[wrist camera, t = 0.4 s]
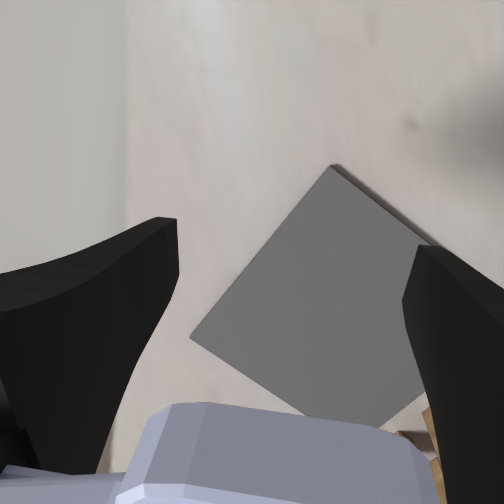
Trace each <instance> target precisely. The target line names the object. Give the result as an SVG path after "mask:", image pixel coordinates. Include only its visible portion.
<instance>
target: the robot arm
mask: <svg viewBox="0 0 504 504" xmlns="http://www.w3.org/2000/svg"><path fill="white" fill-rule="evenodd" d="M178 278H179V256H178V236H177V219H174V218H164V217H155V218H152V219H150V220H147V221H145V222H143V223H141V224H138V225H136V226H134V227H132V228H130V229H128V230H126V231H124V232H122V233H120V234H118V235H115V236H113V237H111V238H109V239H107V240H105V241H102V242H100V243H98V244H95V245H93V246H90V247H88V248H86V249H83V250H81V251H78V252H76V253H73V254H70V255H67V256H65V257H61V258H58V259H55V260H52V261H49V262H46V263H42V264H38V265H34V266H30V267H26V268H22V269H18V270H14V271H10V272H6V273H1V274H0V504H440V500H439V496H438V493H437V489H436V485H435V481H434V477H433V473H432V470H431V466H430V462H429V460H428V459H427V458H426V457H425V456H424V455H423V454H422V453H421V452H420V451H419V450H418V449H417V448H416V447H415V446H414V445H413V444H412V443H411V442H410V441H409V440H408V439H406V438H404V437H402V436H399V435H396V434H393V433H390V432H387V431H384V430H381V429H378V428H375V427H372V426H369V425H363V424H356V423H349V422H342V421H335V420H328V419H322V418H315V417H308V416H301V415H294V414H287V413H281V412H274V411H267V410H260V409H253V408H246V407H240V406H233V405H226V404H219V403H212V402H198V403H177V404H172V405H170V406H169V407H167V408H165V409H163V410H162V411H160V412H158V413H156V414H155V415H153V416H151V417H149V418H148V421H147V423H146V426H145V428H144V431H143V433H142V435H141V438H140V440H139V443H138V445H137V447H136V450H135V452H134V455H133V457H132V459H131V462H130V464H129V467H128V469H127V472H122V473H106V474H95V473H96V470H97V467H98V464H99V461H100V458H101V455H102V452H103V449H104V447H105V444H106V441H107V438H108V435H109V432H110V429H111V427H112V424H113V421H114V419H115V416H116V413H117V411H118V408H119V405H120V403H121V400H122V397H123V395H124V392H125V390H126V387H127V385H128V383H129V380H130V378H131V375H132V373H133V370H134V368H135V366H136V364H137V362H138V360H139V357H140V355H141V354H142V352H143V350H144V348H145V346H146V344H147V343H148V341H149V339H150V337H151V335H152V333H153V332H154V330H155V328H156V326H157V324H158V322H159V321H160V319H161V317H162V315H163V313H164V311H165V309H166V308H167V306H168V304H169V302H170V300H171V297H172V294H173V292H174V289H175V286H176V283H177V280H178ZM402 307H403V315H404V321H405V327H406V331H407V335H408V338H409V341H410V344H411V348H412V351H413V354H414V357H415V360H416V363H417V366H418V369H419V372H420V376H421V379H422V382H423V385H424V388H425V391H426V394H427V398H428V401H429V405H430V409H431V414H432V419H433V424H434V429H435V434H436V439H437V444H438V450H439V456H440V462H441V468H442V474H443V479H444V486H445V493H446V500H447V504H504V289H503V288H502V287H500V286H499V285H497V284H496V283H494V282H493V281H491V280H490V279H488V278H487V277H485V276H484V275H483V274H481V273H480V272H478V271H477V270H475V269H474V268H473V267H471V266H470V265H468V264H467V263H466V262H464V261H463V260H461V259H460V258H458V257H457V256H455V255H454V254H453V253H451V252H449V251H448V250H446V249H444V248H442V247H440V246H430V245H421V244H419V245H418V248H417V252H416V255H415V258H414V262H413V265H412V268H411V272H410V275H409V278H408V281H407V285H406V288H405V291H404V295H403V298H402Z"/></svg>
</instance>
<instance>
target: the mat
mask: <svg viewBox="0 0 504 504" xmlns="http://www.w3.org/2000/svg"><path fill="white" fill-rule="evenodd" d="M419 244H421V245H430V244H429V243H428V242H427V241H425V240H424V239H423V238H422V237H420V236H419V235H418V234H416V233H415V232H414V231H413V230H411V229H410V228H409V227H408V226H406V225H405V224H404V223H402V222H401V221H400V220H399V219H397V218H396V217H395V216H394V215H392V214H391V213H390V212H388V211H387V210H386V209H385V208H383V207H382V206H381V205H380V204H378V203H377V202H376V201H374V200H373V199H372V198H371V197H369V196H368V195H367V194H366V193H364V192H363V191H362V190H360V189H359V188H358V187H357V186H355V185H354V184H353V183H352V182H350V181H349V180H348V179H346V178H345V177H344V176H343V175H341V174H340V173H339V172H338V171H336V170H335V169H334V168H332V167H331V166H330V165H329V166H328V168H327V169H326V170H325V171H324V173H323V174H322V175H321V176H320V177H319V179H318V180H317V181H316V182H315V184H314V185H313V186H312V187H311V188H310V190H309V191H308V192H307V193H306V195H305V196H304V197H303V198H302V199H301V201H300V202H299V203H298V204H297V205H296V207H295V208H294V209H293V210H292V212H291V213H290V214H289V215H288V216H287V218H286V219H285V220H284V221H283V223H282V224H281V225H280V226H279V227H278V229H277V230H276V231H275V232H274V234H273V235H272V236H271V237H270V238H269V240H268V241H267V242H266V243H265V244H264V246H263V247H262V248H261V249H260V251H259V252H258V253H257V254H256V255H255V257H254V258H253V259H252V260H251V262H250V263H249V264H248V265H247V266H246V268H245V269H244V270H243V271H242V273H241V274H240V275H239V276H238V277H237V279H236V280H235V281H234V282H233V283H232V285H231V286H230V287H229V288H228V290H227V291H226V292H225V293H224V294H223V296H222V297H221V298H220V299H219V301H218V302H217V303H216V304H215V305H214V307H213V308H212V309H211V310H210V312H209V313H208V314H207V315H206V316H205V318H204V319H203V320H202V321H201V322H200V324H199V325H198V326H197V327H196V329H195V330H194V331H193V332H192V333H191V335H190V337H189V338H190V339H192V340H193V341H195V342H196V343H198V344H199V345H201V346H202V347H204V348H205V349H207V350H208V351H210V352H211V353H213V354H214V355H216V356H217V357H219V358H220V359H222V360H223V361H225V362H226V363H228V364H229V365H231V366H232V367H234V368H235V369H237V370H238V371H240V372H241V373H243V374H244V375H246V376H247V377H249V378H250V379H252V380H253V381H255V382H256V383H258V384H259V385H261V386H262V387H264V388H265V389H267V390H268V391H270V392H271V393H273V394H274V395H276V396H277V397H279V398H280V399H282V400H283V401H285V402H286V403H288V404H289V405H291V406H292V407H294V408H295V409H297V410H298V411H300V412H301V413H303V414H304V415H306V416H308V417H315V418H322V419H328V420H335V421H342V422H349V423H356V424H363V425H369V426H372V427H375V428H379V427H380V426H381V425H382V424H384V423H385V422H386V421H388V420H389V419H390V418H391V417H393V416H394V415H395V414H396V413H398V412H399V411H400V410H401V409H403V408H404V407H405V406H407V405H408V404H409V403H410V402H412V401H413V400H414V399H415V398H417V397H418V396H419V395H421V394H422V393H423V392H424V391H425V388H424V385H423V382H422V379H421V376H420V372H419V369H418V366H417V363H416V360H415V357H414V354H413V351H412V348H411V344H410V341H409V338H408V335H407V331H406V327H405V321H404V315H403V307H402V298H403V295H404V291H405V288H406V285H407V281H408V278H409V275H410V272H411V268H412V265H413V262H414V258H415V255H416V252H417V248H418V245H419ZM430 246H432V245H430Z"/></svg>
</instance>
